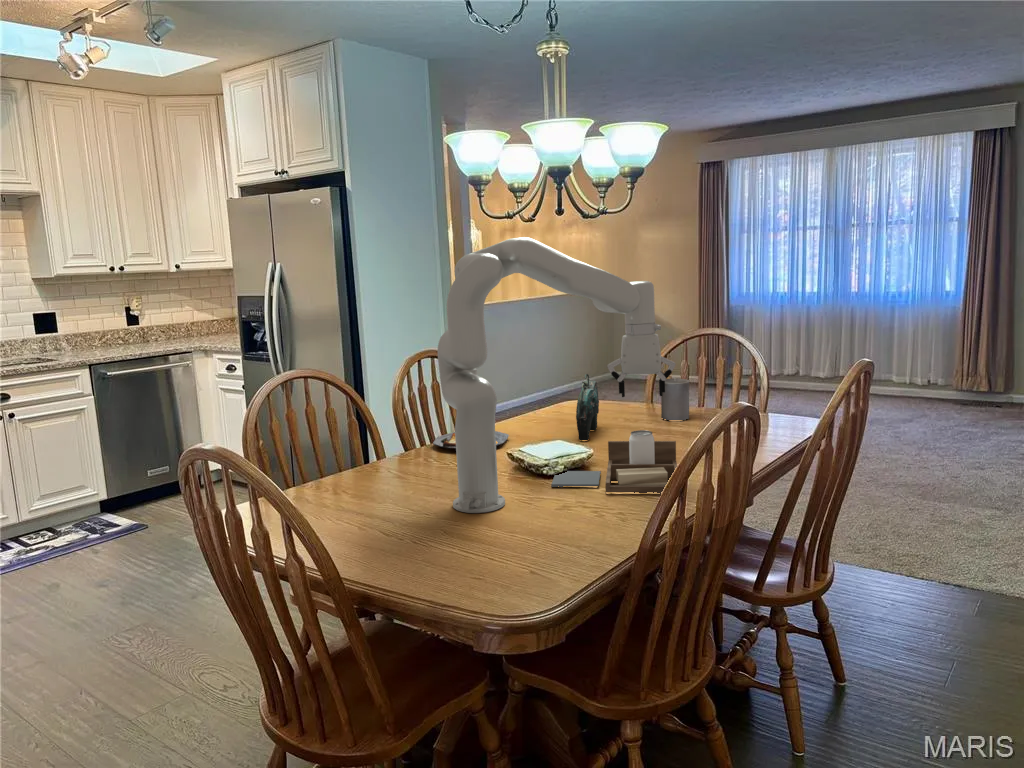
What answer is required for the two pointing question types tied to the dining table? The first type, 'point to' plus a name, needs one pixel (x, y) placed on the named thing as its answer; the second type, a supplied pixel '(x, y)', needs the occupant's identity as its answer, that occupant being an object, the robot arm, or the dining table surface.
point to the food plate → (450, 442)
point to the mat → (577, 478)
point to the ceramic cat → (587, 408)
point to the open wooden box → (621, 460)
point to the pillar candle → (675, 400)
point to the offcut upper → (641, 475)
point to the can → (641, 447)
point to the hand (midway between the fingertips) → (642, 395)
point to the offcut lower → (645, 484)
